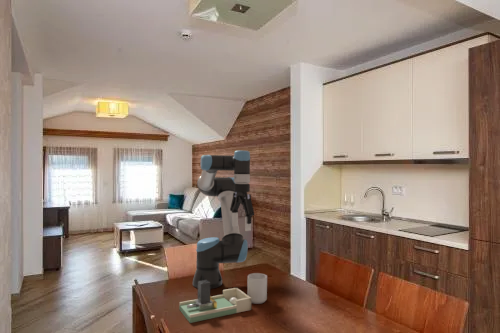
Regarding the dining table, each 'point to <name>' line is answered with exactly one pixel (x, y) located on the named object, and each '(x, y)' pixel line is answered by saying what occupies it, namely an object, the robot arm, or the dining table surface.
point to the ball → (233, 301)
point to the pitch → (218, 306)
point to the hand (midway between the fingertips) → (241, 228)
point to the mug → (257, 287)
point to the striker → (203, 297)
